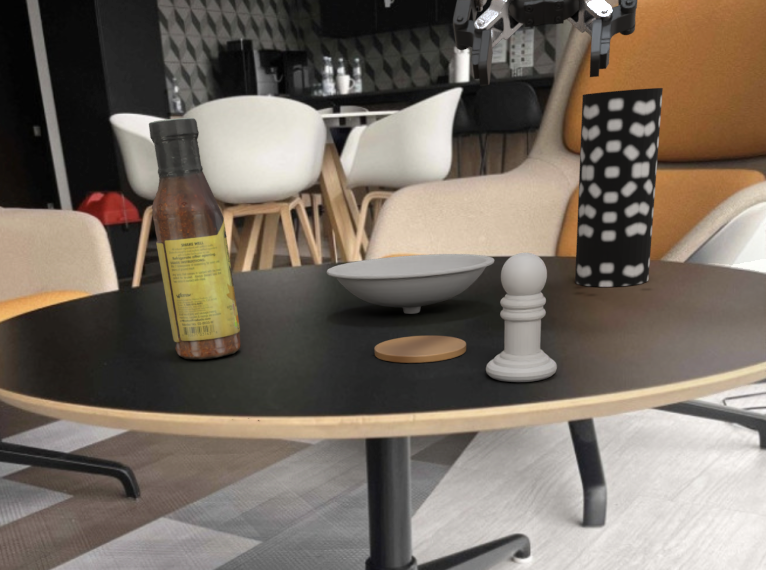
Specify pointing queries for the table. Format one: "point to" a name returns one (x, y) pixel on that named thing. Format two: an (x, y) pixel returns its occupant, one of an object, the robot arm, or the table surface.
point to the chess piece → (522, 322)
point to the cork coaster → (420, 349)
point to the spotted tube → (617, 186)
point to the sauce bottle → (192, 247)
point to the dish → (411, 278)
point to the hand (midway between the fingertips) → (538, 72)
